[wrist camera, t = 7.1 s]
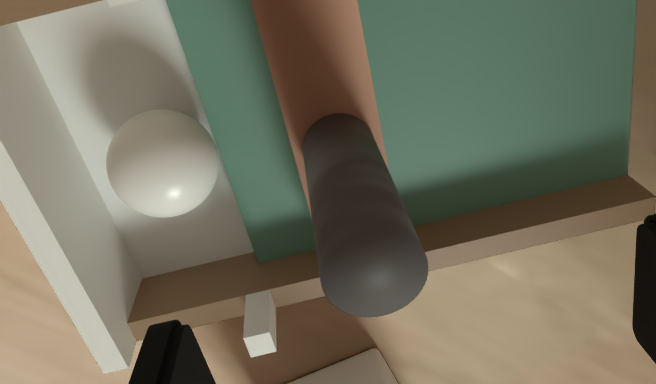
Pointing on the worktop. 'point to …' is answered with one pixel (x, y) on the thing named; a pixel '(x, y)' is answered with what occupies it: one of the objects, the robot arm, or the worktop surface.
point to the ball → (162, 163)
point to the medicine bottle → (353, 371)
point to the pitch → (277, 155)
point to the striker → (341, 155)
